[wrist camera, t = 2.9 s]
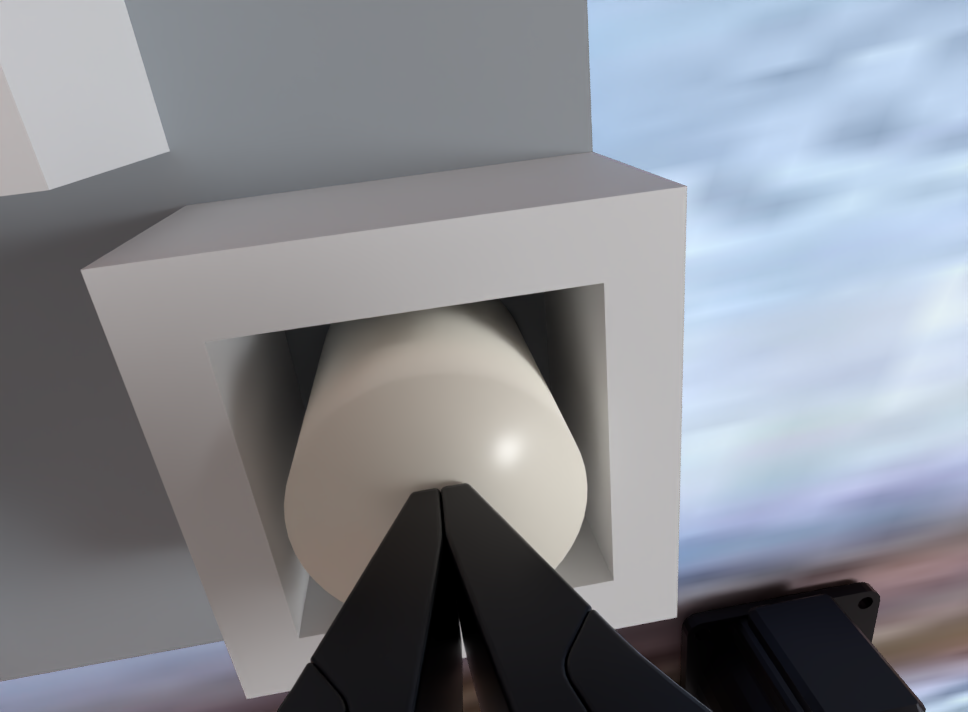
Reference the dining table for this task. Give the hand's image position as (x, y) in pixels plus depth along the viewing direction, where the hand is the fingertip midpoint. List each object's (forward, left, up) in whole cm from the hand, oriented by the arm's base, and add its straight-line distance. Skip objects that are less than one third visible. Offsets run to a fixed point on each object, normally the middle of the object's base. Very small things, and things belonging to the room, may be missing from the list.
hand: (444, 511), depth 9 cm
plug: (0, 0, -5) cm, 5 cm away
